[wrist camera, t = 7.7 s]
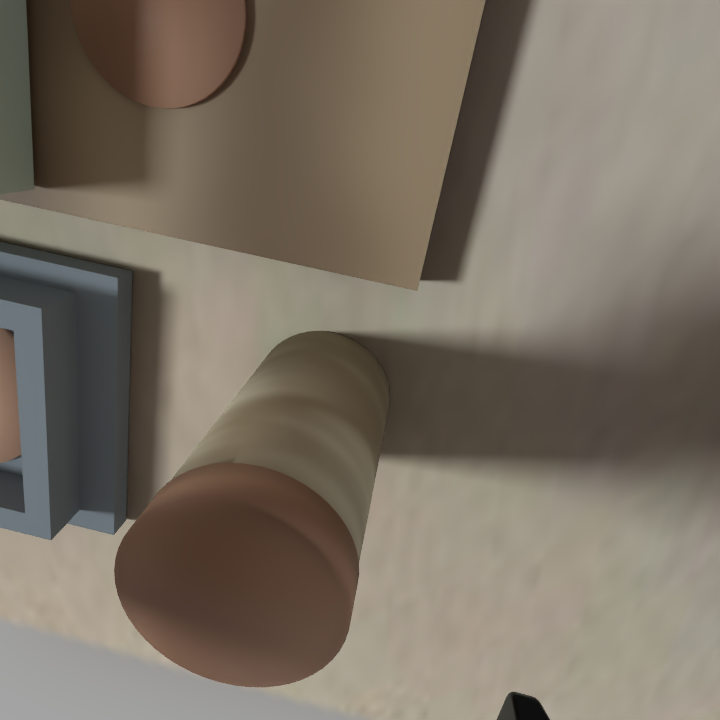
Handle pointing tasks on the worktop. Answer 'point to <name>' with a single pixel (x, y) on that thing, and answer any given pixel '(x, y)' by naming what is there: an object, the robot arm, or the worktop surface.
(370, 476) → the peg
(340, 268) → the board
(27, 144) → the cover
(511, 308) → the worktop surface
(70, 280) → the blue-grey square tray
